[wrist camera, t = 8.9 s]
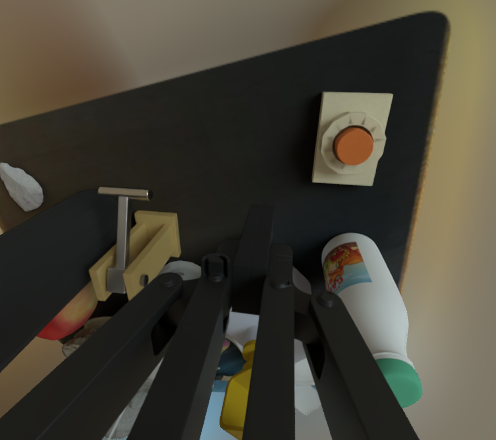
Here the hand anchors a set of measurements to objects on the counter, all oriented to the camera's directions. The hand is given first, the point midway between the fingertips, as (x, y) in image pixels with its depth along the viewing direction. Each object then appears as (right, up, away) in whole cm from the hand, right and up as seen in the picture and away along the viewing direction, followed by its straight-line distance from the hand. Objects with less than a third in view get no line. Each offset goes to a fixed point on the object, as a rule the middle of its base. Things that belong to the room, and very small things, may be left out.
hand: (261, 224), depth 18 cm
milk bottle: (+14, -5, +22) cm, 26 cm away
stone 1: (-34, +6, +24) cm, 42 cm away
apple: (-30, -11, +32) cm, 45 cm away
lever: (-15, -2, +16) cm, 22 cm away
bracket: (-14, -2, +25) cm, 29 cm away
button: (+10, +8, +12) cm, 18 cm away
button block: (+11, +10, +15) cm, 21 cm away
